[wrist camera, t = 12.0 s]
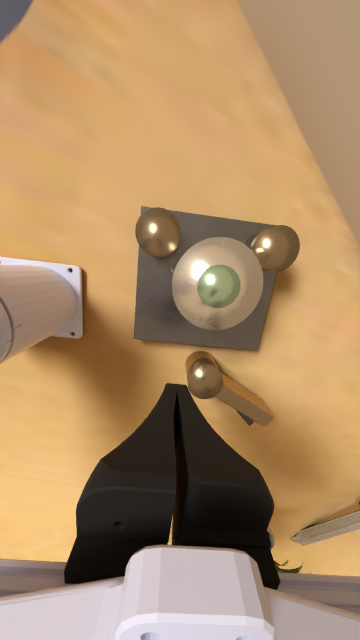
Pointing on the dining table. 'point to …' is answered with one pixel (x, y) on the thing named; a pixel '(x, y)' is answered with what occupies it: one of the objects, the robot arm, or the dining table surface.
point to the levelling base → (161, 297)
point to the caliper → (328, 529)
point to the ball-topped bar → (222, 387)
